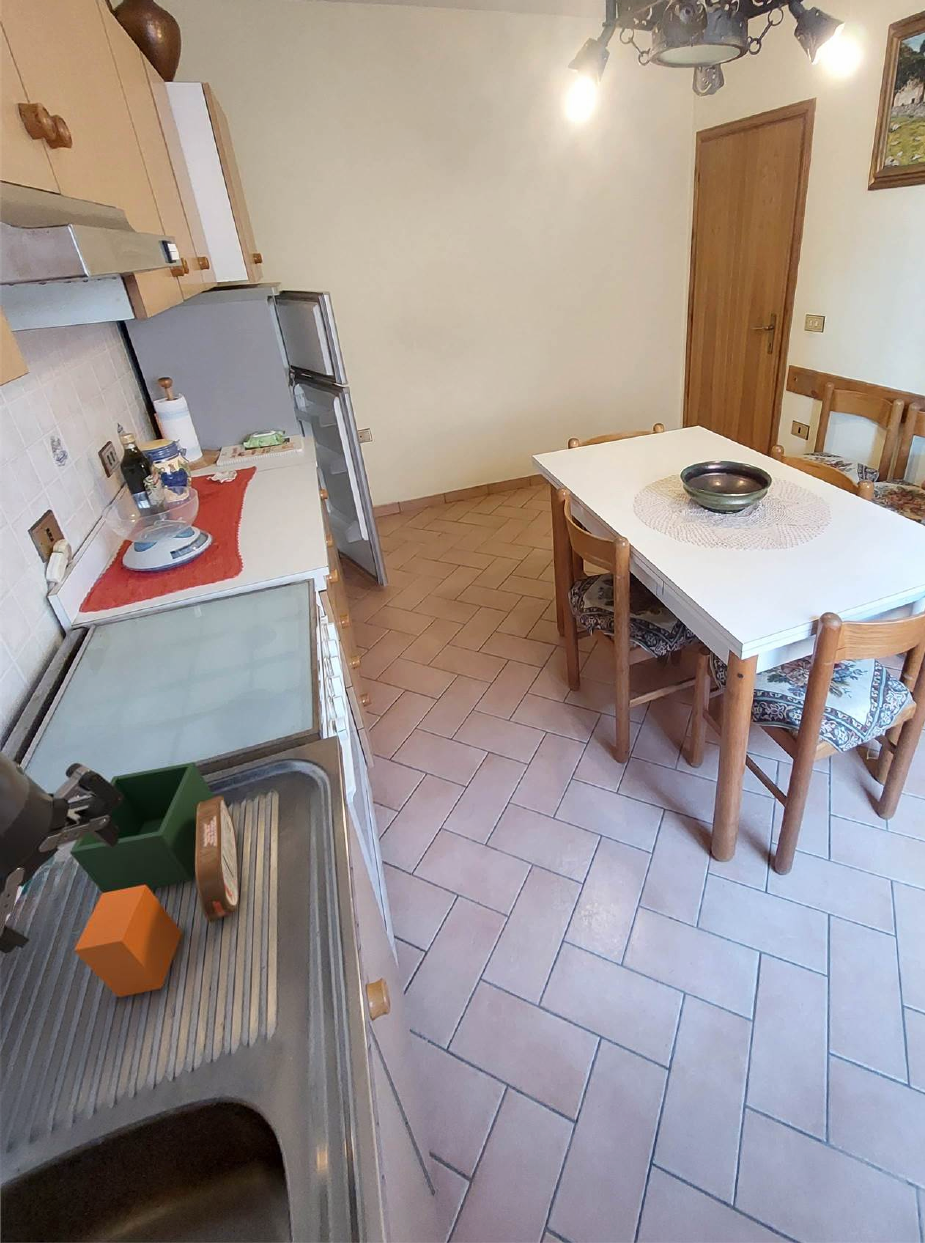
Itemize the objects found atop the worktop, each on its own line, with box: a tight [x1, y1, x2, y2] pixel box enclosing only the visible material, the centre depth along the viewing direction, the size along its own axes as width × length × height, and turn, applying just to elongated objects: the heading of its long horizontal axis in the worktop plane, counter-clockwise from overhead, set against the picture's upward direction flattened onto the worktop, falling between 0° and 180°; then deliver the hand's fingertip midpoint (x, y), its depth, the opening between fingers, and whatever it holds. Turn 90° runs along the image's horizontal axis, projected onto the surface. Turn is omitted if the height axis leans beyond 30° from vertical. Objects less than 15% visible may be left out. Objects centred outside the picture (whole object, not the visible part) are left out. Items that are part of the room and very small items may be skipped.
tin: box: [194, 795, 239, 924], centre depth 71 cm, size 15×3×8 cm, turn 27°
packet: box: [73, 885, 183, 998], centre depth 63 cm, size 4×6×10 cm
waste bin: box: [69, 761, 215, 893], centre depth 75 cm, size 10×10×10 cm
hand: (66, 887), depth 53 cm, fingers open, 8 cm apart
